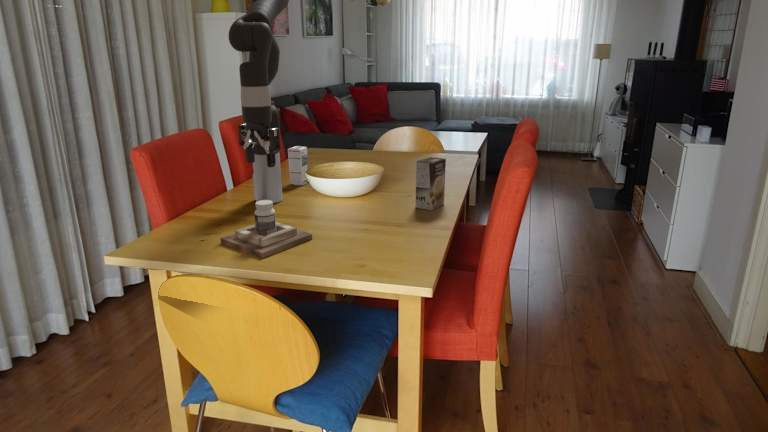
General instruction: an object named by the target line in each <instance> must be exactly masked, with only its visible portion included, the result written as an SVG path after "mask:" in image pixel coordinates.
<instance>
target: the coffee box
mask: <svg viewBox="0 0 768 432" xmlns="http://www.w3.org/2000/svg"><path fill="white" fill-rule="evenodd" d="M446 161H447V159H446V158H442V157H432V156H429V157H426V158H423V159H419V160H416V162H415V163H416V171H415V208H416V209H422V210H427V211H433V210H435V209H437V208H439V207H442V206H443V205H445V190H446V189H445V188H446V187H445V186H446V167H447V166H446V164H447V163H446Z"/></svg>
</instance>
